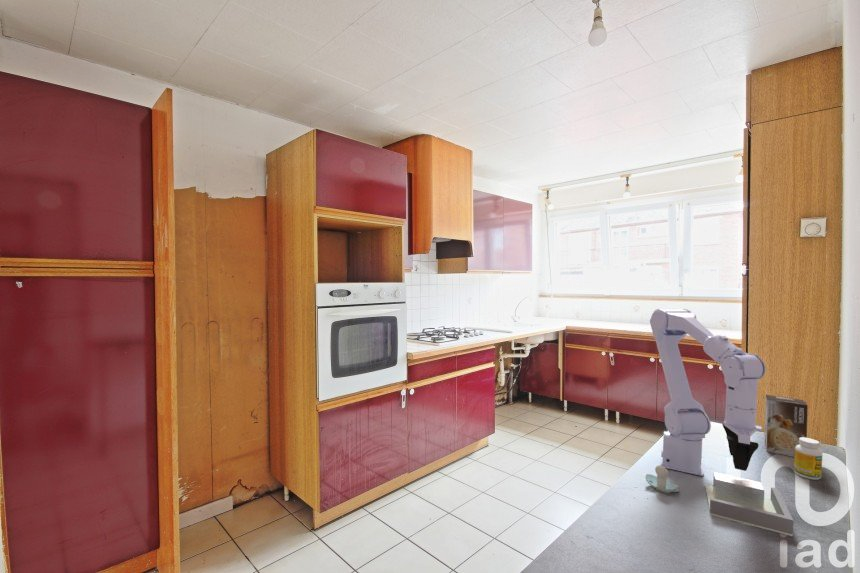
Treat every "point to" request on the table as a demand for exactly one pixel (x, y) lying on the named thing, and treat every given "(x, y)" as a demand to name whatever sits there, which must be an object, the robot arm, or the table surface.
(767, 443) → the coffee box
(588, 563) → the table surface
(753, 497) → the aluminium bar
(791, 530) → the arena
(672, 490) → the pacifier
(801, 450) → the supplement bottle
